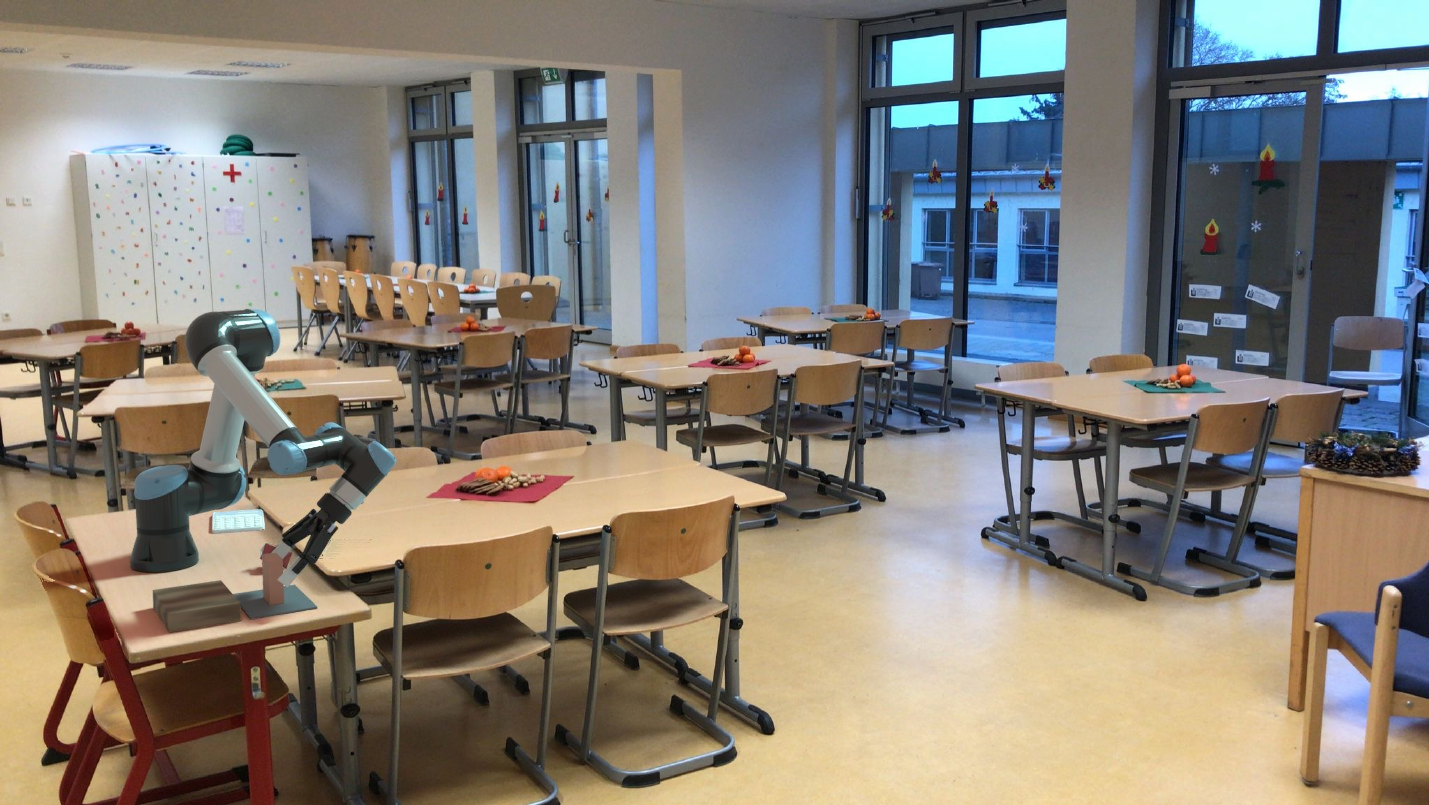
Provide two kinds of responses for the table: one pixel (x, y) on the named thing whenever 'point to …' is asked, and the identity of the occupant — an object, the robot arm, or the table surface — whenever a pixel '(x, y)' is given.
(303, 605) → the mat
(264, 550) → the geometric puzzle
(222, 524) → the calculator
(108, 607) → the table surface
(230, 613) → the brown flat block
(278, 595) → the salmon pink brick
